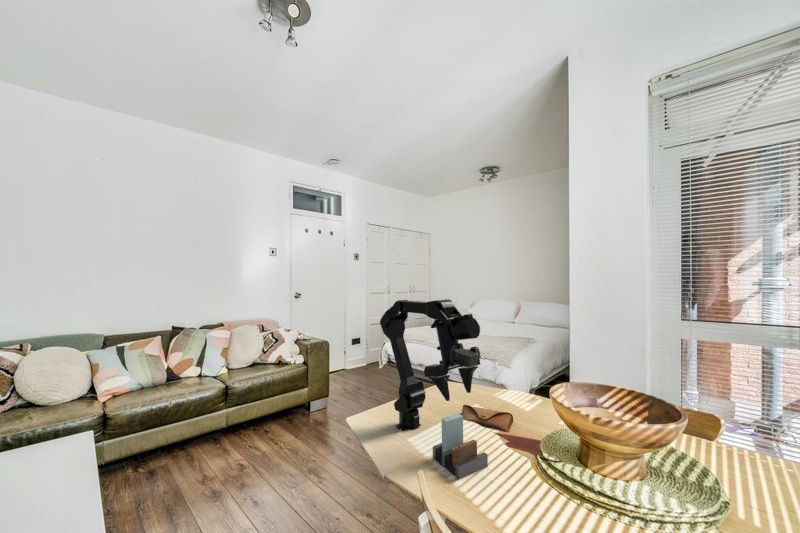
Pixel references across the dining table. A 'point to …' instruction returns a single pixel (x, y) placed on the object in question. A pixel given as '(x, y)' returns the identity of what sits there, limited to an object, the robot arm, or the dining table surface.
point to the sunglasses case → (488, 417)
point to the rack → (462, 467)
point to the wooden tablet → (522, 443)
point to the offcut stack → (464, 452)
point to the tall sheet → (452, 432)
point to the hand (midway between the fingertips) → (458, 396)
